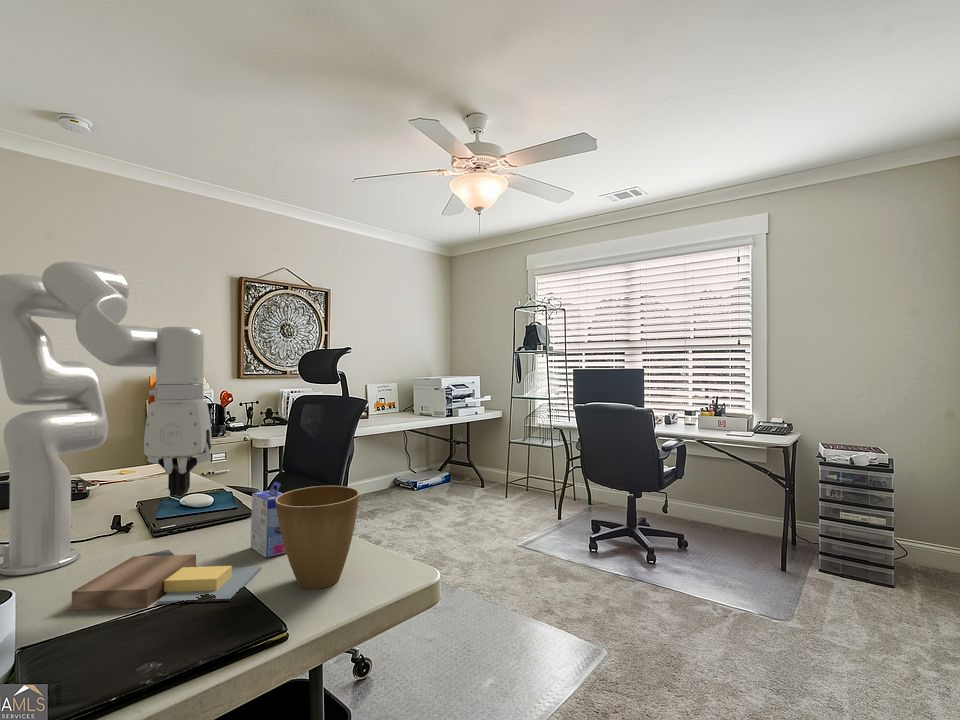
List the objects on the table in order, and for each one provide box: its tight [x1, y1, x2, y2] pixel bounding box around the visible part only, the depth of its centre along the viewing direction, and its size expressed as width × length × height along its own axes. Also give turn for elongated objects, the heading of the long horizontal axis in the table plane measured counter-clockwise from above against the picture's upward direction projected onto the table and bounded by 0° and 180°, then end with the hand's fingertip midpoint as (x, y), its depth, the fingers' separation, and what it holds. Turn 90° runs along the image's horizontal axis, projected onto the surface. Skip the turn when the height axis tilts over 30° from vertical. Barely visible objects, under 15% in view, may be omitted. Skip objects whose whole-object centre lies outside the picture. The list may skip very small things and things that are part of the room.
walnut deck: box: [71, 553, 197, 611], centre depth 91 cm, size 12×16×3 cm
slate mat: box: [156, 566, 262, 605], centre depth 91 cm, size 12×14×1 cm
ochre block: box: [164, 565, 233, 593], centre depth 91 cm, size 9×6×2 cm, turn 93°
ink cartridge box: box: [250, 481, 287, 558], centre depth 110 cm, size 10×6×14 cm, turn 43°
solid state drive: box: [141, 549, 175, 556], centre depth 104 cm, size 7×10×1 cm
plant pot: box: [275, 485, 360, 590], centre depth 93 cm, size 15×15×16 cm
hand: (179, 494), depth 92 cm, fingers closed
